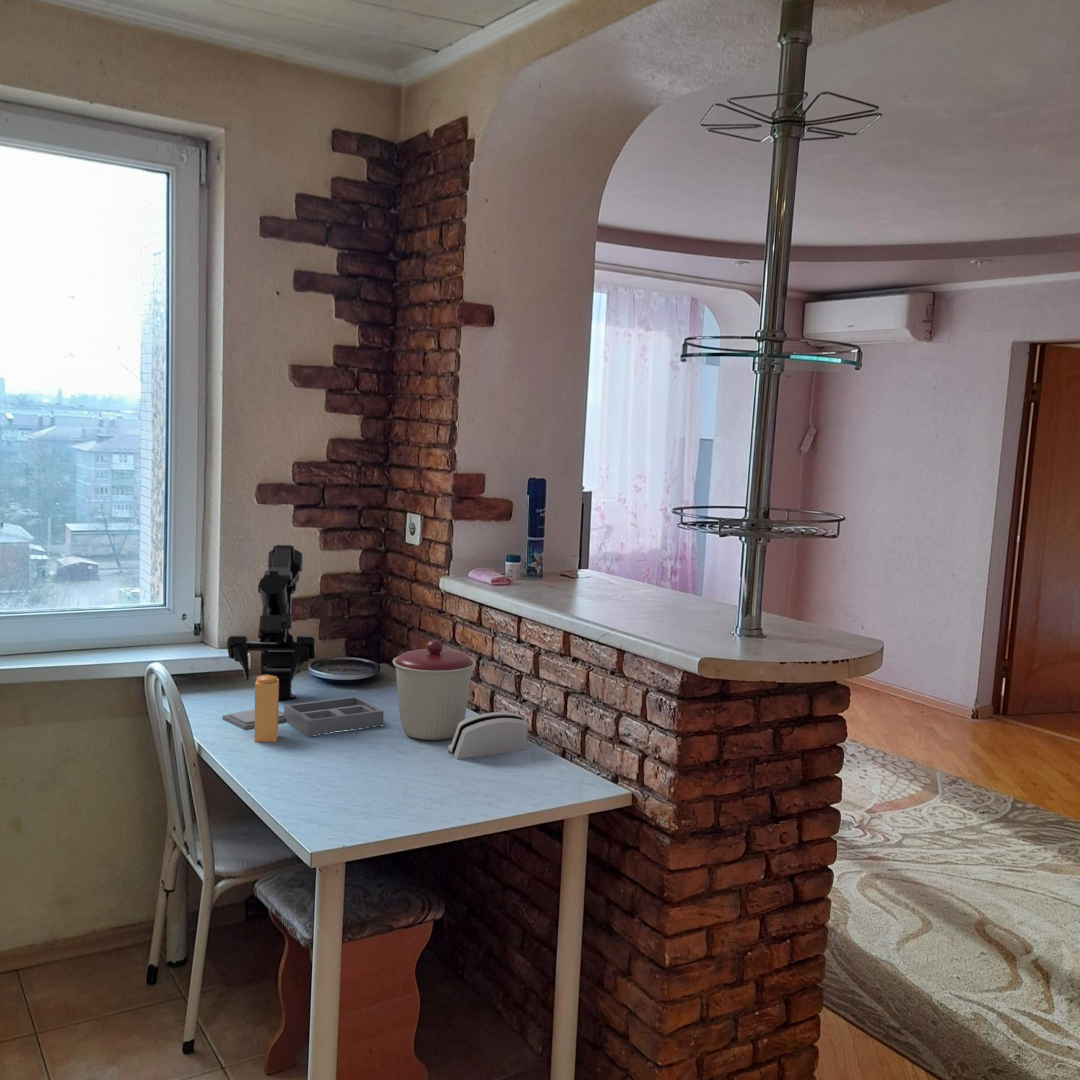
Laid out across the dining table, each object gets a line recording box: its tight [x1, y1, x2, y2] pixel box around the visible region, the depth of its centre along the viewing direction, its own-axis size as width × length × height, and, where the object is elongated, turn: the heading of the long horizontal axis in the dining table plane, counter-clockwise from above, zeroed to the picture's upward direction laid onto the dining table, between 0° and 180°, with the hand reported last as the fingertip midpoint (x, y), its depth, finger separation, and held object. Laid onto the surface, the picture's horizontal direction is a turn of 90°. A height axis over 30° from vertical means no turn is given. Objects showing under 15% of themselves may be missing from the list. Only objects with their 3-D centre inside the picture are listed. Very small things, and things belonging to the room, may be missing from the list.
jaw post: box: [253, 674, 280, 743], centre depth 220 cm, size 4×4×13 cm
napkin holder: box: [446, 711, 529, 760], centre depth 216 cm, size 17×5×10 cm, turn 119°
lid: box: [222, 709, 287, 730], centre depth 233 cm, size 10×12×1 cm
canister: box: [392, 639, 476, 741], centre depth 227 cm, size 18×18×21 cm
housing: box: [283, 695, 385, 737], centre depth 233 cm, size 14×18×4 cm
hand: (269, 680), depth 224 cm, fingers open, 9 cm apart
